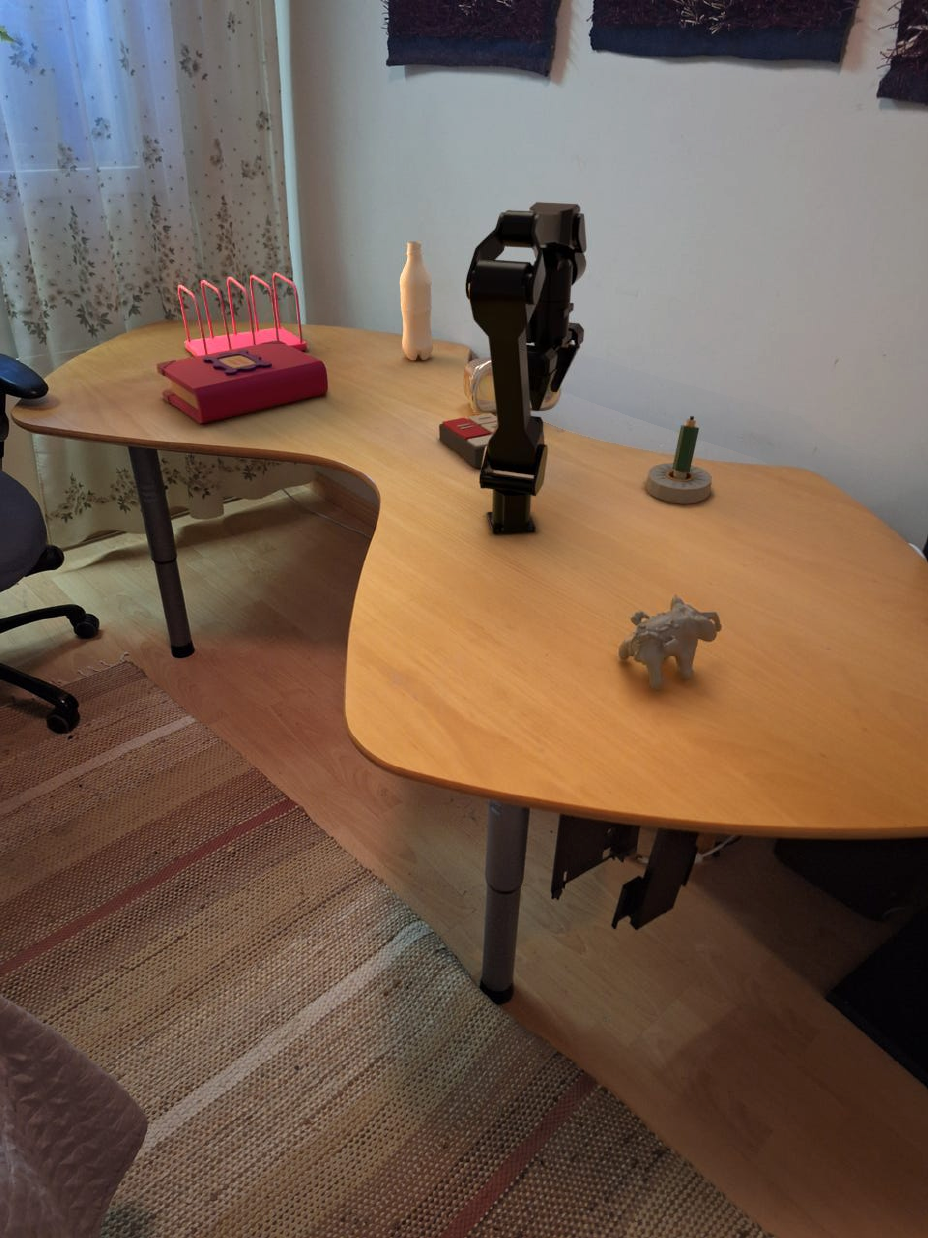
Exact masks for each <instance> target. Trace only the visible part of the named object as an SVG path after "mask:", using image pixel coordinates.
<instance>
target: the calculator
mask: <svg viewBox="0 0 928 1238" xmlns="http://www.w3.org/2000/svg"><path fill="white" fill-rule="evenodd" d="M496 424H497V415H494V413H492V414H491V413H486V414H481V415H478V414H475V415H471V416H470V415H469V416H468V417H467V418H466V417H460V418H454V419H448V420H444V421H441V423H439V425H438V432H439V434H438V435H439V441H440V442H442V443H443V444H445V445H446V446H447V447H449V448H451V449H452V450H453V451H455V452H456V453H458V454H459V455H461V456H462V457H463V458H464V459H465V462H466V463H467V464H469V465H470V466H472V467H473V468H474V469H481V466H482V461H483V456H484V451H485V447H486V446H487V445H488V442H489V439H490V438H491V436H492V433H493V431H494V429H495V426H496Z"/></svg>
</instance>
